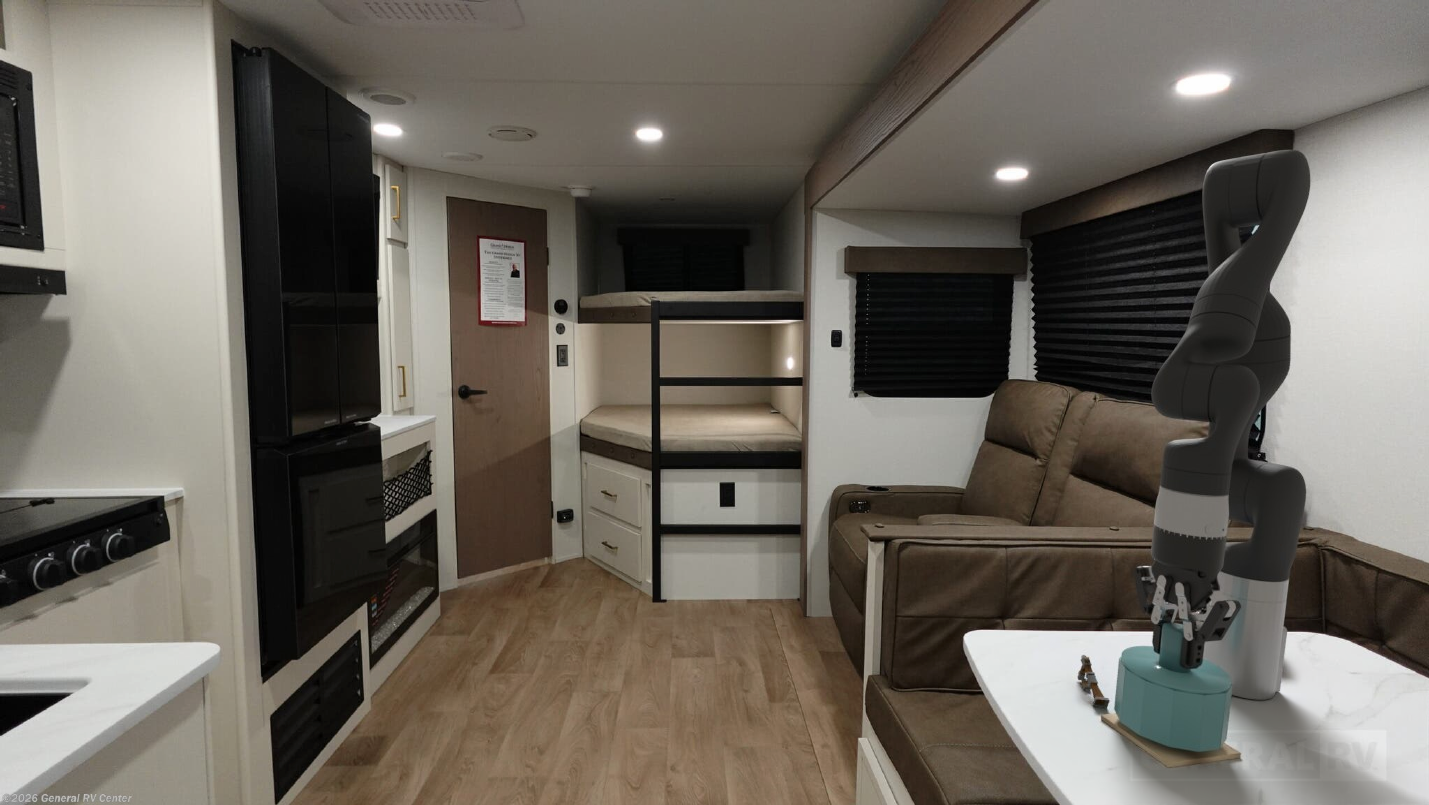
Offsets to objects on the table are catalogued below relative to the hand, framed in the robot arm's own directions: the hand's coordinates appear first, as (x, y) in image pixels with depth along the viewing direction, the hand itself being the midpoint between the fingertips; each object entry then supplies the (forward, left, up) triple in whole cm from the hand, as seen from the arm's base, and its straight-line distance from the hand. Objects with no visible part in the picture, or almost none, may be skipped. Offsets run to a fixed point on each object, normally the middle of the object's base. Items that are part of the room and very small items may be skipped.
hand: (1175, 659), depth 90 cm
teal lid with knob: (0, 0, -8) cm, 8 cm away
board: (0, 0, -10) cm, 10 cm away
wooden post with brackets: (+2, -11, -11) cm, 16 cm away
